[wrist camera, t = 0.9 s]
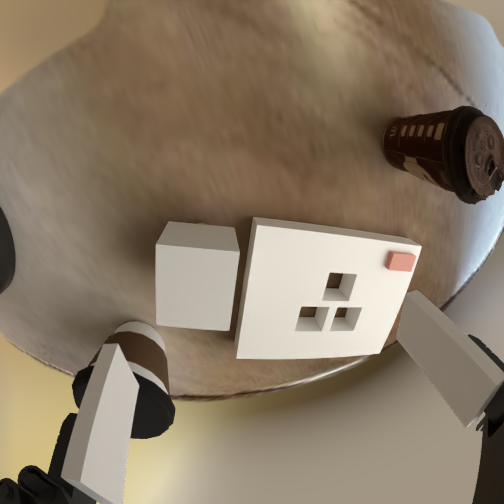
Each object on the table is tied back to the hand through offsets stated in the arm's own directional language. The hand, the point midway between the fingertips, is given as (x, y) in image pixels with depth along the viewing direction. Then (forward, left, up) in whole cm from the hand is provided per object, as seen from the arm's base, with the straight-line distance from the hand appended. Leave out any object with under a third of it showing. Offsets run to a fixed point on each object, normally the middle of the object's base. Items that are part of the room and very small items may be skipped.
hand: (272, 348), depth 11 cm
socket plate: (+11, -7, -18) cm, 23 cm away
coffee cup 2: (+17, +12, -19) cm, 28 cm away
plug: (-4, -3, -18) cm, 19 cm away
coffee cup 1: (-11, -16, -19) cm, 27 cm away
